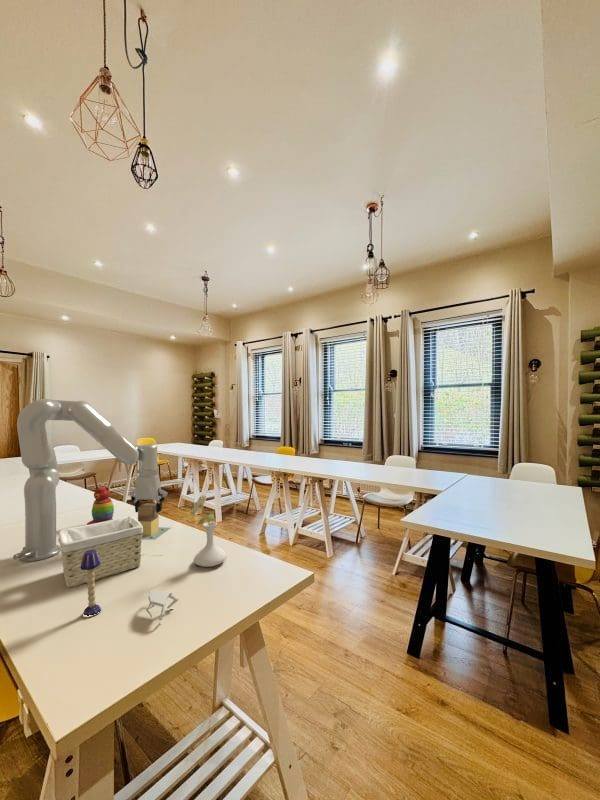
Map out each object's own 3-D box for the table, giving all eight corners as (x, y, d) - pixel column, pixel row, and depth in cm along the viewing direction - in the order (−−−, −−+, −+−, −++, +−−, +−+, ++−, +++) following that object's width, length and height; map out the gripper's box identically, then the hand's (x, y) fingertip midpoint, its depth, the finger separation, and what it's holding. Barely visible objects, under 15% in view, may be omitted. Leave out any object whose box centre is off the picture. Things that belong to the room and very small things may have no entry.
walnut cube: (151, 521, 145) (150, 507, 145) (137, 521, 146) (137, 507, 146) (158, 517, 151) (158, 503, 151) (145, 516, 152) (145, 503, 152)
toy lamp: (78, 620, 89) (78, 556, 89) (82, 610, 93) (82, 549, 94) (99, 615, 91) (99, 552, 91) (102, 606, 95) (102, 546, 96)
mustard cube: (151, 535, 145) (151, 521, 145) (138, 535, 146) (138, 521, 146) (158, 530, 151) (158, 517, 151) (146, 530, 152) (145, 516, 152)
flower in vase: (212, 553, 129) (211, 487, 130) (233, 560, 122) (232, 491, 123) (183, 566, 118) (182, 494, 119) (204, 575, 112) (203, 499, 112)
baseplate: (154, 542, 141) (154, 538, 141) (123, 541, 142) (123, 537, 142) (171, 529, 155) (171, 527, 155) (142, 529, 156) (142, 526, 156)
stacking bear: (84, 526, 161) (84, 489, 161) (102, 519, 170) (102, 484, 171) (102, 528, 158) (102, 490, 158) (119, 521, 167) (119, 485, 168)
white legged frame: (185, 611, 92) (185, 593, 92) (158, 628, 85) (158, 609, 85) (159, 598, 99) (159, 581, 99) (131, 613, 92) (131, 595, 92)
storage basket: (61, 592, 103) (61, 543, 103) (57, 572, 115) (57, 529, 116) (144, 567, 118) (144, 525, 119) (133, 552, 131) (133, 514, 131)
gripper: (124, 474, 146) (124, 513, 146) (162, 474, 144) (162, 514, 144) (135, 470, 154) (135, 508, 153) (171, 471, 152) (171, 509, 151)
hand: (148, 511), depth 149 cm, fingers open, 9 cm apart
